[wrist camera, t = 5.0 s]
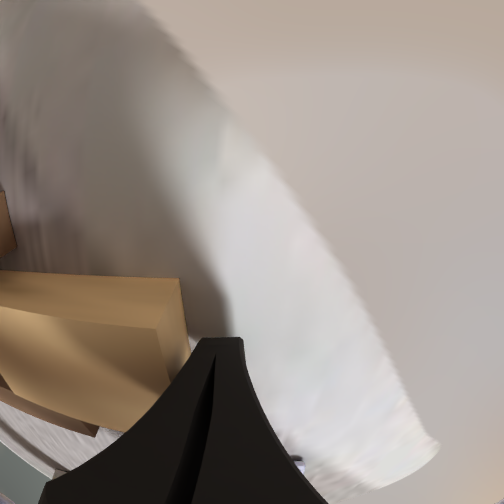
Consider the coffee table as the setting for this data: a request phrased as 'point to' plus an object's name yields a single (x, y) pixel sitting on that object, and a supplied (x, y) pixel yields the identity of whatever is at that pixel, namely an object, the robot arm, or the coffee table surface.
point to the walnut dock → (3, 242)
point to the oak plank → (91, 343)
